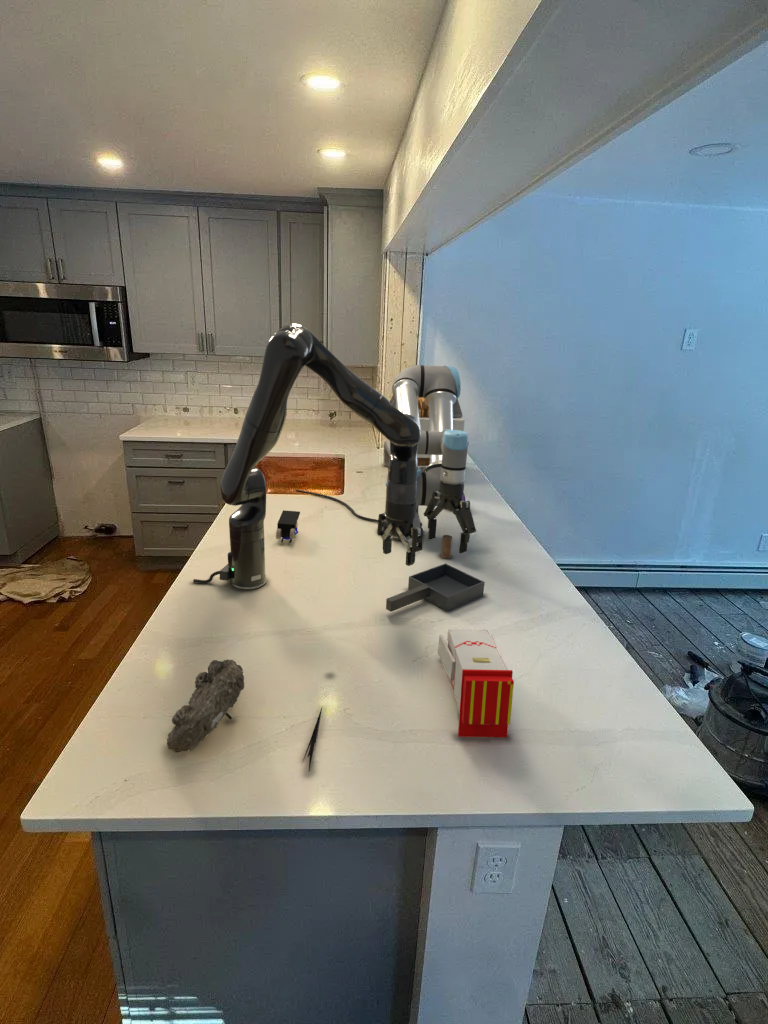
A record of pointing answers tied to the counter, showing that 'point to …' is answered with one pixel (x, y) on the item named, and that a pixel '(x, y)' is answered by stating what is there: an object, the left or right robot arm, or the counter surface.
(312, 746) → the feather
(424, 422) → the white slatted crate
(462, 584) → the tray
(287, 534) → the figurine character
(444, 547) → the peg
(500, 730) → the toy
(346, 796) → the counter surface
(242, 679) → the fossil
